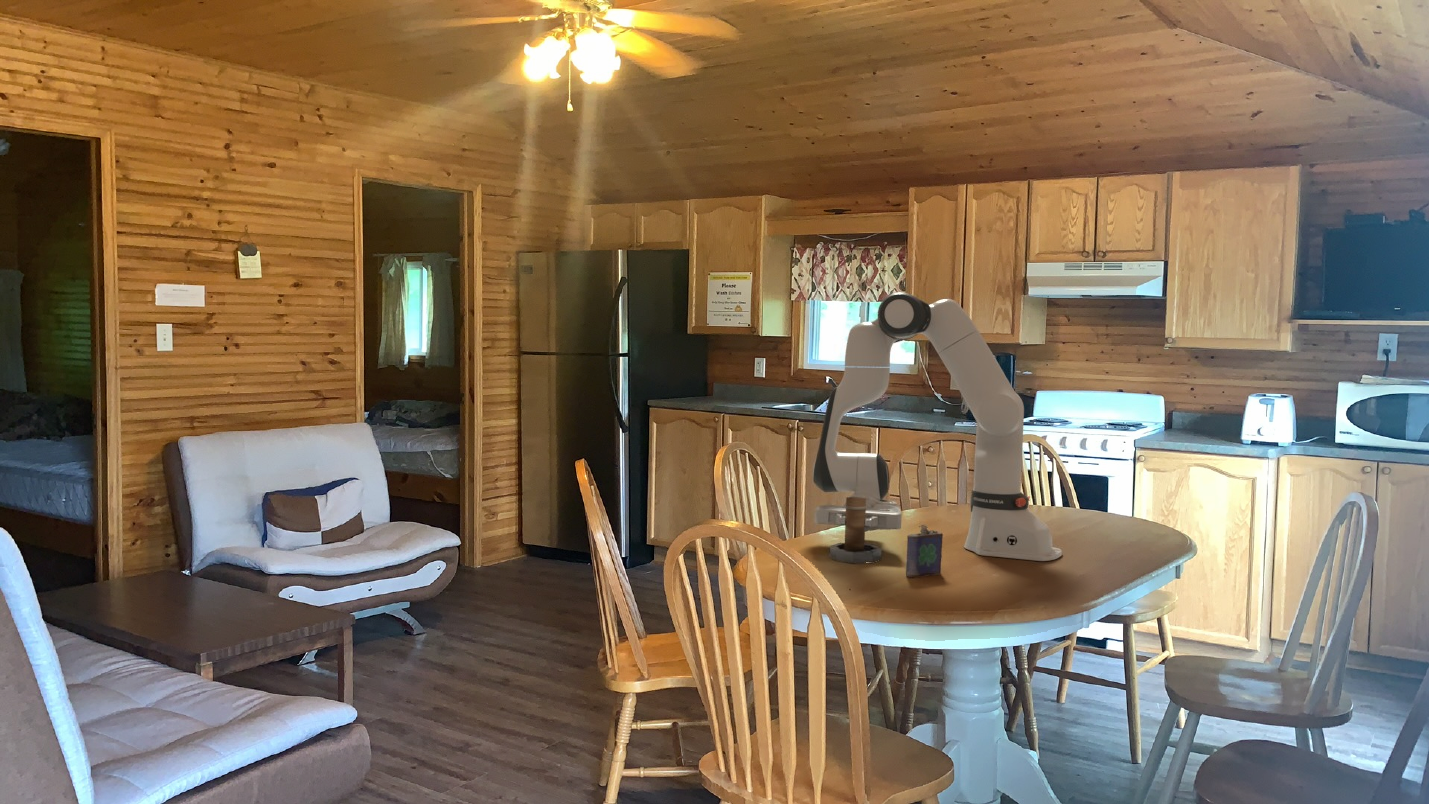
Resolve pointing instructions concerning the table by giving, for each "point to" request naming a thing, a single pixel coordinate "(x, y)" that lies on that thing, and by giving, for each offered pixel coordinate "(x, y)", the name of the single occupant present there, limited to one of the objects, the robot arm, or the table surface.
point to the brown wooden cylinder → (855, 523)
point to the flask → (924, 553)
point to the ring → (855, 554)
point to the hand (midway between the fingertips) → (855, 522)
